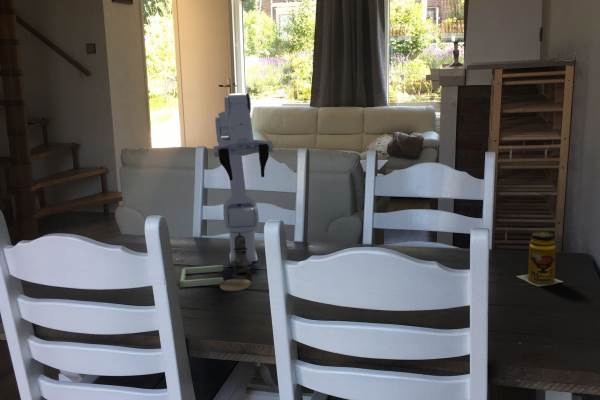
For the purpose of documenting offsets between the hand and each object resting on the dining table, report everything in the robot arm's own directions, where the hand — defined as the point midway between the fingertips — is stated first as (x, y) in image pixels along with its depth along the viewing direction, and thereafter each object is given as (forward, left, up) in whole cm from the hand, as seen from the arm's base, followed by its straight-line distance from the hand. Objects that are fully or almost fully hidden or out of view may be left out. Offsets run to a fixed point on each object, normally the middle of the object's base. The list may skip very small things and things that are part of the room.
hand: (247, 176), depth 146 cm
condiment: (+10, +71, -29) cm, 77 cm away
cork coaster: (-4, -4, -29) cm, 29 cm away
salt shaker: (-12, -2, -29) cm, 32 cm away
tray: (-12, -12, -29) cm, 34 cm away
